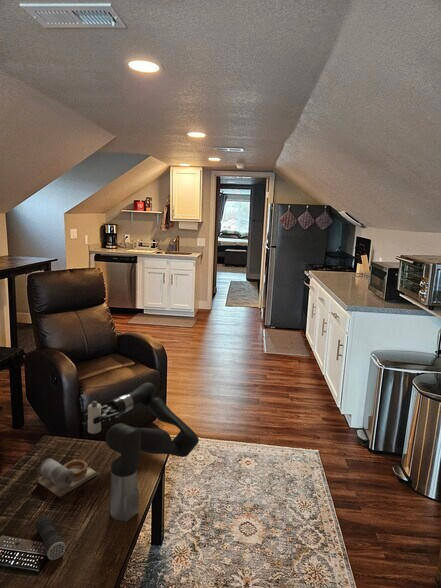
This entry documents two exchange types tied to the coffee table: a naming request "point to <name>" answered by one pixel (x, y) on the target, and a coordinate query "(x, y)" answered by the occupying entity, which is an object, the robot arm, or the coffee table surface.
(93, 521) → the coffee table surface
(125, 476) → the robot arm
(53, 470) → the motor mount
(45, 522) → the flashlight
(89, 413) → the white capped bottle
